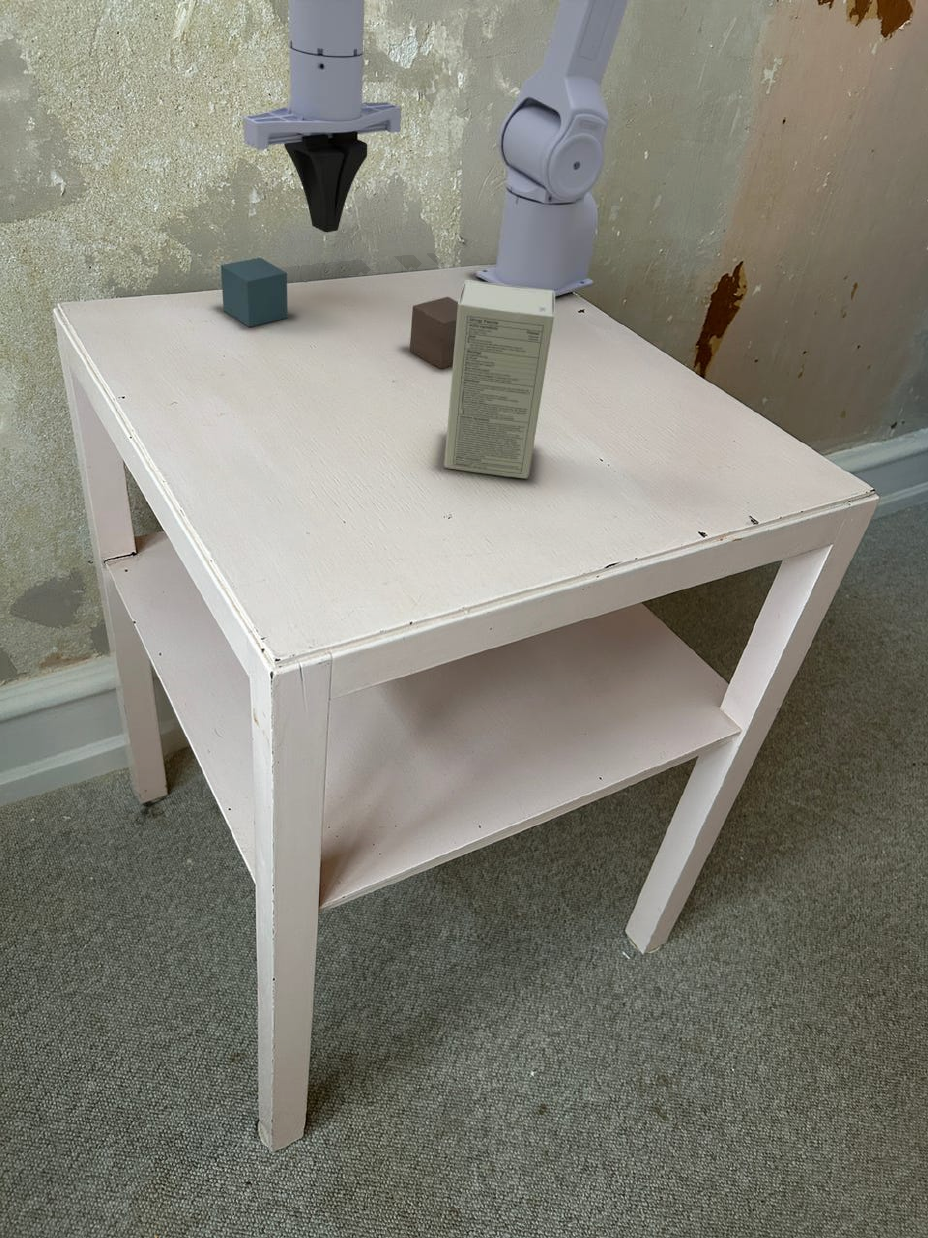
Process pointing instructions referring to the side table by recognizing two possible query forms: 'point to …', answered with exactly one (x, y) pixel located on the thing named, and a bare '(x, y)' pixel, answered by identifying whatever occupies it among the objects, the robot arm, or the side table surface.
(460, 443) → the cosmetic box
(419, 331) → the walnut block
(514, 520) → the side table surface
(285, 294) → the slate block
